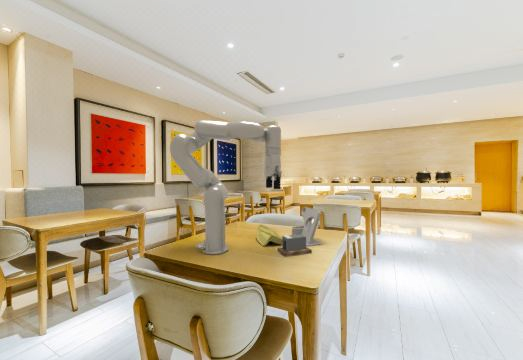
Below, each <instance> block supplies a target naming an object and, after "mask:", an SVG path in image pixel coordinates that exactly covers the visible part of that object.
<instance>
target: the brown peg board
mask: <svg viewBox="0 0 523 360" xmlns="http://www.w3.org/2000/svg"><path fill="white" fill-rule="evenodd" d="M276 251H277V252H278V253H279V254H280V255H282V256H283V257H285V258H286V257H293V256H300V255H308V254H312V249H311V248H309V247H307V246H306V249H304V250H296V251H289V252H287V251H286V249H282V247H277V249H276Z"/></svg>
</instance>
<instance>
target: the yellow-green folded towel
mask: <svg viewBox="0 0 523 360" xmlns="http://www.w3.org/2000/svg"><path fill="white" fill-rule="evenodd" d="M256 240H257V242H258V243H259V244H260V246H262V247H265V246H267V245H268V244H269V243H270V242H273V243H275V244H277V245H281V246H282V236H281V235H279V234H278V233H277V232H276V231H275V230H273V228H272V229H271V228H270V227H268V226H266V225H263V224H258V226H257V229H256Z"/></svg>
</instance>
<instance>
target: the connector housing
mask: <svg viewBox="0 0 523 360" xmlns="http://www.w3.org/2000/svg"><path fill="white" fill-rule="evenodd" d="M281 237H282V244H281V248H282V249H286V251H287V252H289V251H296V250H304V249H306V247H307V246H306V236H304V235H302V234H298V235H292V234H290V235H287V234H286V235H285V234H284V235H282V236H281Z"/></svg>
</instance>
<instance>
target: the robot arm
mask: <svg viewBox="0 0 523 360" xmlns="http://www.w3.org/2000/svg"><path fill="white" fill-rule="evenodd" d="M193 130H194V132H193V133H191V134H190V135H189V134H186V133H178V134H176V135H174V136H173V137H172V139H171V141H170V145H169V152H170V155H171V156H170V157H171V158H172V160H173V161H174V163H175V165H177V166H178V167H179V169H180V170H181V172H183V174H184V175H185V176H186V177H187V178H188V180H189V181H190V182H191V183H192V184H193V186H194V187H196V188H200V189H203V190H204V194H203V203H204V204H203V205H204V221H205V222H204V223H205V224H204V225H205V226H204V227H205V231H204V232H205V236H204V237H205V240H204V241H202V242H201V243H199V242H197V243H195V249H197V248H198V249H201V252H202V253H203V254H206V255H220V254H221V255H222V254H224V253H226V252H228V251H229V245H227V244H226V207H225V205H226V204H225V201H226V200H227V198H228V197H229V196H228V195H229V194H228V193H229V192H228V189H227V187H226V186H225V185H224V184H223V182H222V181H221V180H220V178H219V177H217V176H216V174H215V173H214V172H213V171H212V170H211V169H210V168H209V169H208V168H205V167H203V166H202V164H200V162H199V161H198V160H197V158H195V157H194V156H193V155H192V154H193V153H196V152H197V151H199V150H200V149H201V148H203V147H204V146H206V144H208V143H209V142H210V141H211V140H212V139H215V140H223V141H229V140H233V139H244V140H251V141H252V142H253V143H264V156H265V160H264V171H263V172H264V176H265V188H266V189H272V188H273V189H274V190H280V189H281V180H282V179H281V178H282V168H281V167H282V166H281V165H282V163H281V156H282V129H281V126H280V125H279V126H278V125H268V126H266V127H264V126H263V125H262V124H260V123H258V122H250V121H220V120H209V119H199V120H197V121H196V122H195V123H194V128H193ZM273 179H274V180H273Z"/></svg>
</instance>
